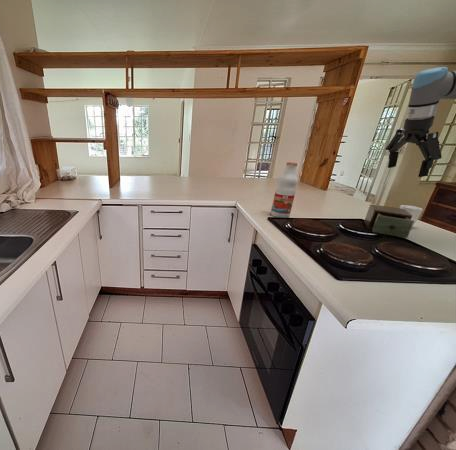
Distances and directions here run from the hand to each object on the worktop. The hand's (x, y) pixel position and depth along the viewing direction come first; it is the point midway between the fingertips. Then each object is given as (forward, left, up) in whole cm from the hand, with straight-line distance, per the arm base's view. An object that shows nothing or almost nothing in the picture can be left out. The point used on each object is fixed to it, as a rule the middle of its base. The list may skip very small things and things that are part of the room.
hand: (406, 171), depth 97 cm
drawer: (-2, -3, -27) cm, 27 cm away
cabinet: (-2, -12, -28) cm, 30 cm away
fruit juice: (+42, +1, -28) cm, 51 cm away
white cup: (-12, -25, -28) cm, 39 cm away
